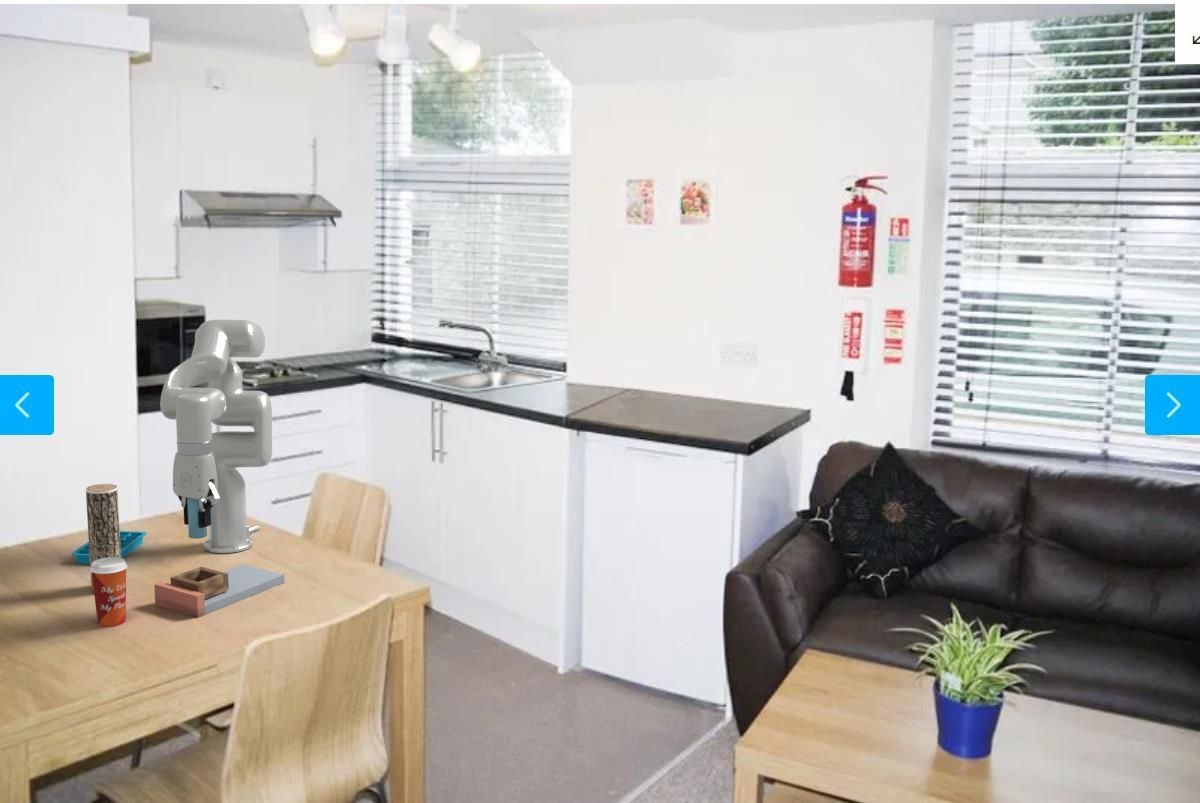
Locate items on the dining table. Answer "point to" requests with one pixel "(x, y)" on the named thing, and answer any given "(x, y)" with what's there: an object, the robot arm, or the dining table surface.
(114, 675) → the dining table surface
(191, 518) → the dowel
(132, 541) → the ice cube tray
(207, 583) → the square wooden tray
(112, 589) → the paper cup
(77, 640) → the dining table surface
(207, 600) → the long flat grey board
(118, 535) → the bark log
